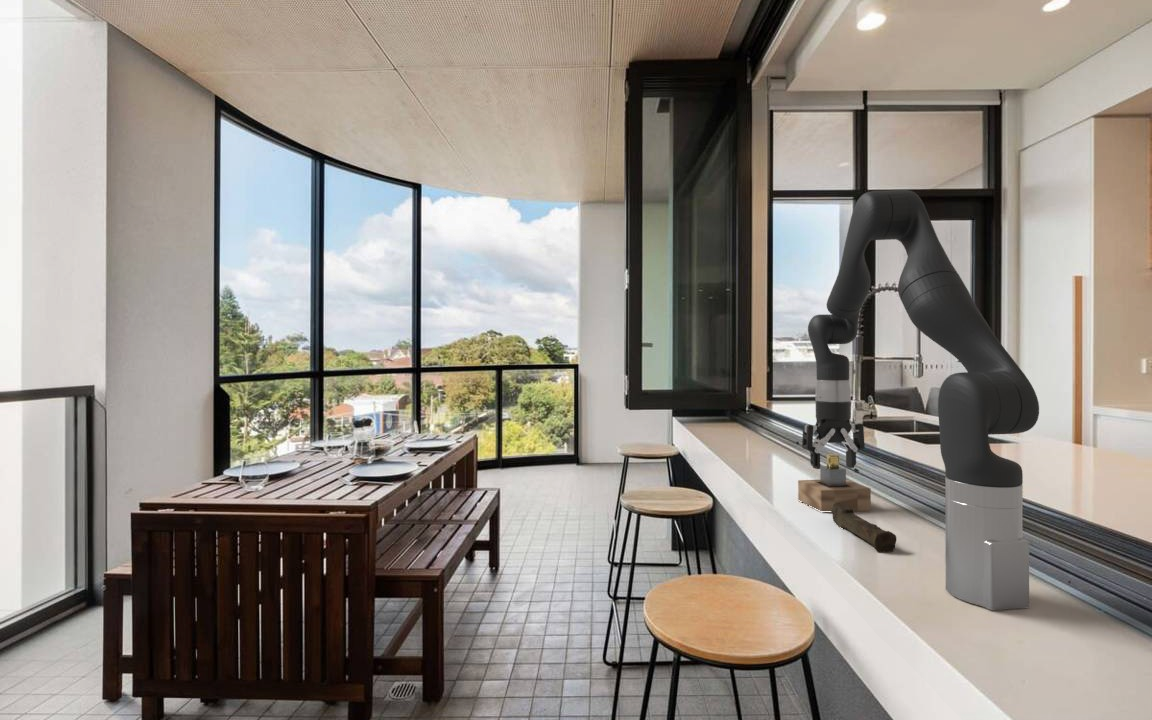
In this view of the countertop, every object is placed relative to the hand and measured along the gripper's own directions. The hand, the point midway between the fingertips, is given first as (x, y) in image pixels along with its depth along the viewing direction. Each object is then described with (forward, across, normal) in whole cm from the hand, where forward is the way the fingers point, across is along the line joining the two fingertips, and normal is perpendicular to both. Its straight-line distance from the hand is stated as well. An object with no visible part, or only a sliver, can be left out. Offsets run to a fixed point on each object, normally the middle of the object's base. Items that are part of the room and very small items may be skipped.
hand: (833, 467), depth 130 cm
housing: (+9, 0, 0) cm, 9 cm away
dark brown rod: (+10, -8, -20) cm, 24 cm away
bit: (+9, 0, 0) cm, 9 cm away
